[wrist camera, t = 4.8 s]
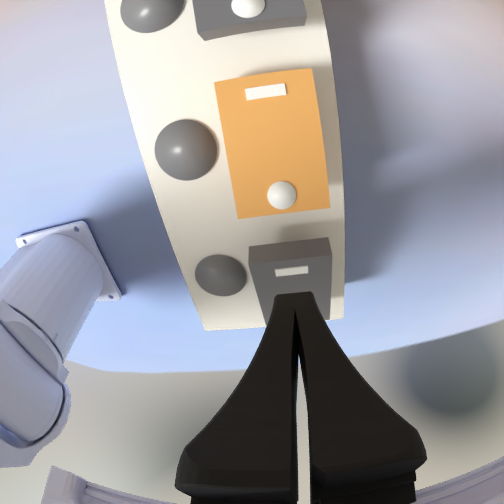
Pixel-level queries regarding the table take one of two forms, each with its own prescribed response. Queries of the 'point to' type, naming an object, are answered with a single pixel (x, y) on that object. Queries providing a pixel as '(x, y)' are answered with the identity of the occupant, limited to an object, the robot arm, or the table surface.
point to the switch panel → (219, 146)
